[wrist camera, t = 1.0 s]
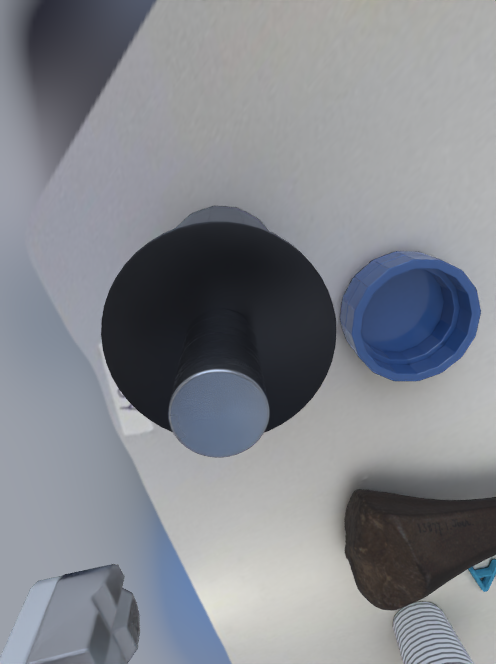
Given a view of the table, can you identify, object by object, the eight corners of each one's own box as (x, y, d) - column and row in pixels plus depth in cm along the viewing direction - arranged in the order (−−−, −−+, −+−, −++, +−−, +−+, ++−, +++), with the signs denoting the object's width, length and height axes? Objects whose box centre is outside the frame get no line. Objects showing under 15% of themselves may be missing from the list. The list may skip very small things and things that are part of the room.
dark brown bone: (327, 517, 46) (559, 454, 49) (367, 632, 39) (634, 551, 42) (336, 477, 38) (613, 404, 41) (388, 613, 31) (717, 514, 34)
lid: (111, 424, 21) (57, 543, 14) (103, 209, 17) (26, 231, 11) (315, 432, 21) (357, 548, 15) (346, 227, 18) (418, 257, 11)
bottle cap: (319, 336, 37) (330, 355, 33) (376, 230, 34) (394, 237, 30) (414, 376, 39) (434, 398, 35) (476, 279, 36) (505, 291, 32)
